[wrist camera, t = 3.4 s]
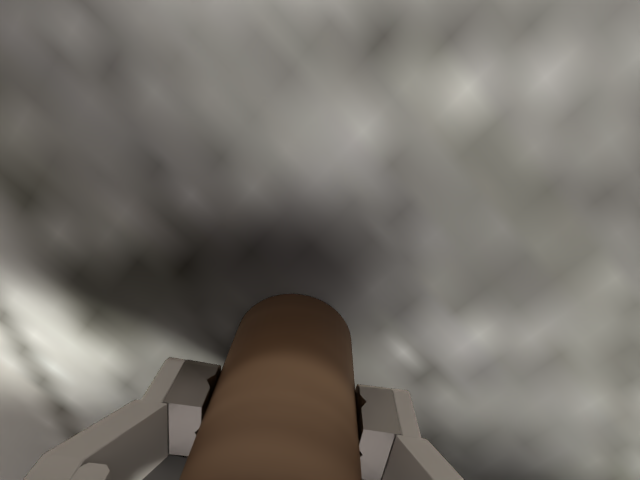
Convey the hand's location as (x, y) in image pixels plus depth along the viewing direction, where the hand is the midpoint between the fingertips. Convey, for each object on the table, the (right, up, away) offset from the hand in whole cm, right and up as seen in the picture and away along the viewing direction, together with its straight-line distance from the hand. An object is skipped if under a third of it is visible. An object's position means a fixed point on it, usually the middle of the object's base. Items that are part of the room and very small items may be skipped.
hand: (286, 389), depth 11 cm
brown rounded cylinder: (0, +1, +2) cm, 2 cm away
